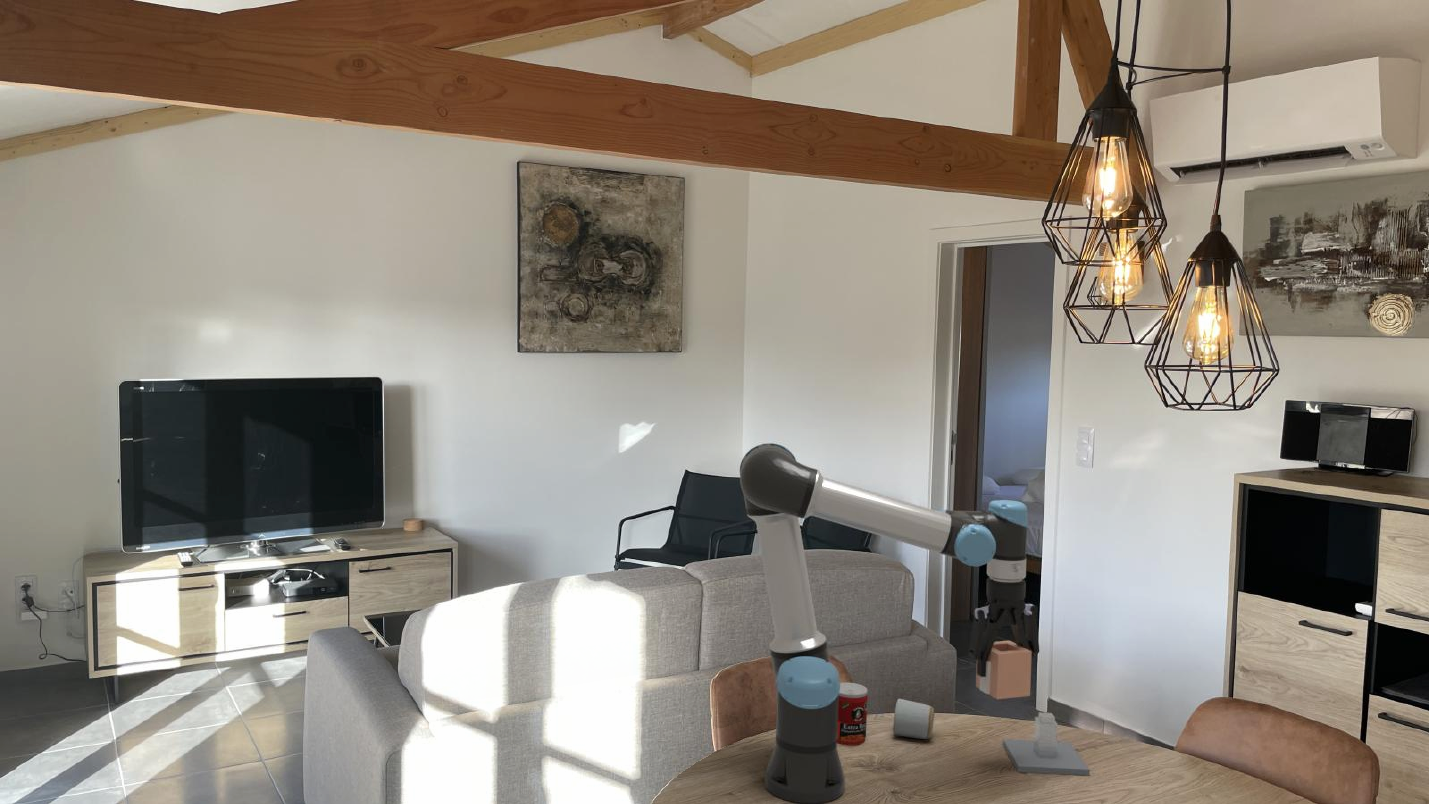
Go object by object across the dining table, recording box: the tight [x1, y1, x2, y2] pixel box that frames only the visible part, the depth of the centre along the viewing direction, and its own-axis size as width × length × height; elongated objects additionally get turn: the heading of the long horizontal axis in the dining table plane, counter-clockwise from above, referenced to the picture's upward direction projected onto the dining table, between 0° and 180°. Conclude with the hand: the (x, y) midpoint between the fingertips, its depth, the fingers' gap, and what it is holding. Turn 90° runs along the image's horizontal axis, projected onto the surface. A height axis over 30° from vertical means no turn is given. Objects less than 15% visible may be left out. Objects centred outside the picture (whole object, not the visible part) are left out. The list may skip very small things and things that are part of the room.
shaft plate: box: [1002, 738, 1091, 777], centre depth 213 cm, size 14×14×1 cm
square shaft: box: [1033, 711, 1059, 758], centre depth 213 cm, size 4×4×8 cm
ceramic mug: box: [892, 698, 935, 740], centre depth 225 cm, size 11×8×8 cm
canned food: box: [837, 681, 869, 746], centre depth 221 cm, size 8×8×11 cm
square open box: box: [975, 640, 1032, 700], centre depth 208 cm, size 8×8×9 cm
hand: (1002, 689), depth 208 cm, fingers closed on square open box, 8 cm apart
